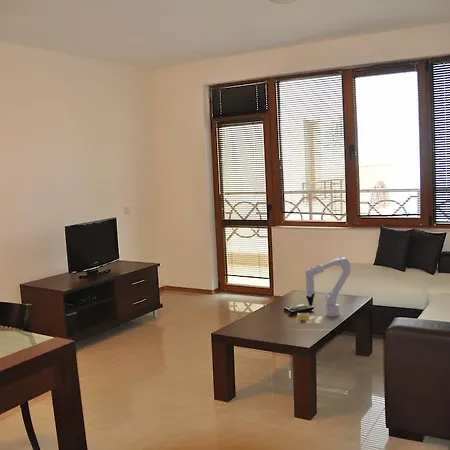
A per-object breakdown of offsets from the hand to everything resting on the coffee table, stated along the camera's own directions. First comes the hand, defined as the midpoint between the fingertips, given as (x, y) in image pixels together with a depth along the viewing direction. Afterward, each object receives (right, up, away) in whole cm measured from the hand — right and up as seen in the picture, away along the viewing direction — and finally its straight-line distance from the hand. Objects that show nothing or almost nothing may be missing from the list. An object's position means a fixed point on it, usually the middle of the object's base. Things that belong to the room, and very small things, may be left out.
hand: (311, 304), depth 396 cm
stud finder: (-6, -10, -8) cm, 14 cm away
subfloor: (-3, -11, -8) cm, 14 cm away
